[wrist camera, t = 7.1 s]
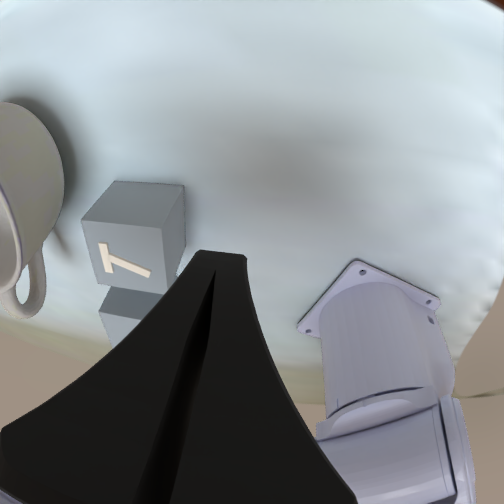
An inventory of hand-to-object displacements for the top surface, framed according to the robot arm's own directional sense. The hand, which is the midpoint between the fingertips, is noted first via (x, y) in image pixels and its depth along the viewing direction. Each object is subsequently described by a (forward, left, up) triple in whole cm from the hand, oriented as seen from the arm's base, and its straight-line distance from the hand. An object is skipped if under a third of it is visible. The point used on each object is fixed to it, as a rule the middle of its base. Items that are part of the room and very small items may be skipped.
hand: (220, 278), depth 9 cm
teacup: (+14, +7, -10) cm, 18 cm away
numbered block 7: (+4, +6, -10) cm, 12 cm away
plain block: (+2, +13, -10) cm, 16 cm away
